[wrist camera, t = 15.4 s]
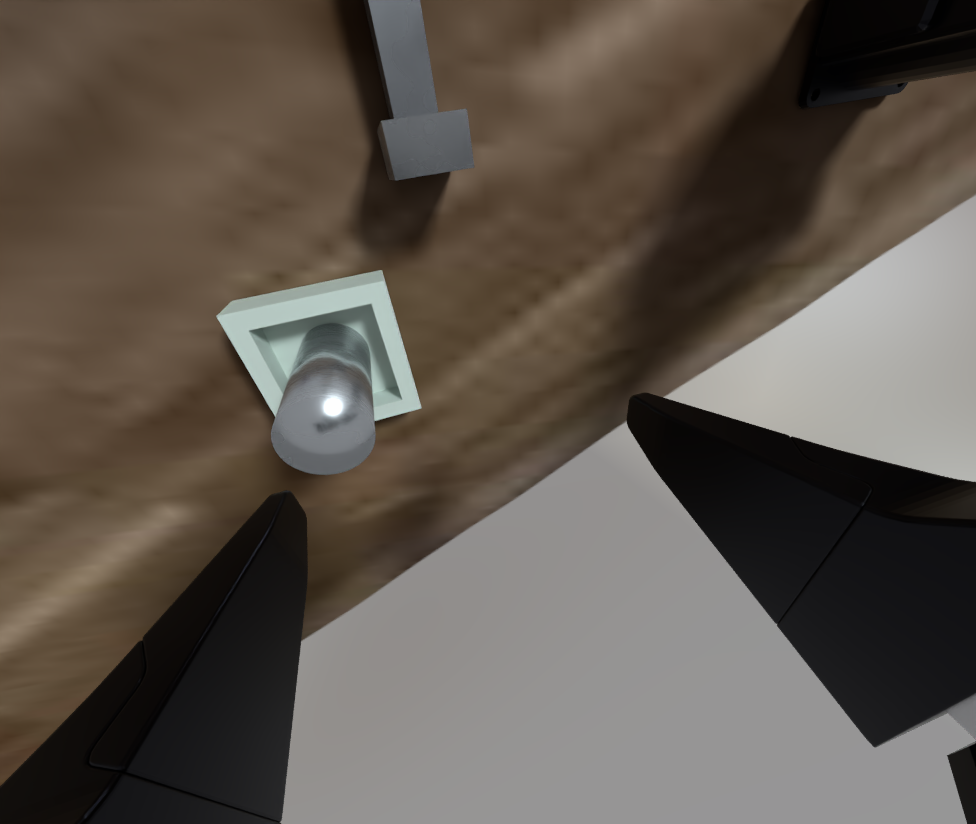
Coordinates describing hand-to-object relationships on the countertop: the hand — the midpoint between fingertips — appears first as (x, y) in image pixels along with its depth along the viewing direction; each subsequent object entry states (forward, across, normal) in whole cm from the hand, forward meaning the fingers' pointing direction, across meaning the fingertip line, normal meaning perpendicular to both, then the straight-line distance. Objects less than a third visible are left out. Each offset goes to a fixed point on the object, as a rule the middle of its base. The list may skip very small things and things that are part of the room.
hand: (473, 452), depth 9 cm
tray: (+11, +5, +1) cm, 12 cm away
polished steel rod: (+11, +5, +1) cm, 12 cm away
